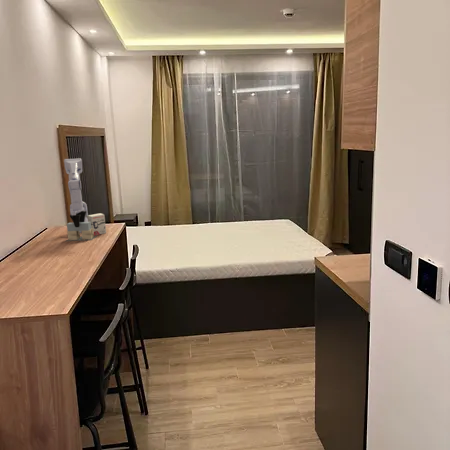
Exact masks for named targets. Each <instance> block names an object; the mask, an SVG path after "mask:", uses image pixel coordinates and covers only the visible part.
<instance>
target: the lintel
mask: <svg viewBox="0 0 450 450" xmlns="http://www.w3.org/2000/svg"><path fill="white" fill-rule="evenodd" d="M66 229H67V231H84V230H90V229H91V222H80V226H79V227H75V225H74V223H73V222H68V223H66ZM67 231H66V232H67Z"/></svg>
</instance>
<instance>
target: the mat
mask: <svg viewBox="0 0 450 450" xmlns="http://www.w3.org/2000/svg"><path fill="white" fill-rule="evenodd" d="M97 237H98V235H94V238H92V239H84V240H82V235H80V238H79V239H78V240H68V239H66V240H65V242H81V241H82V242H84V241H93V240H95V238H97Z"/></svg>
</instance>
